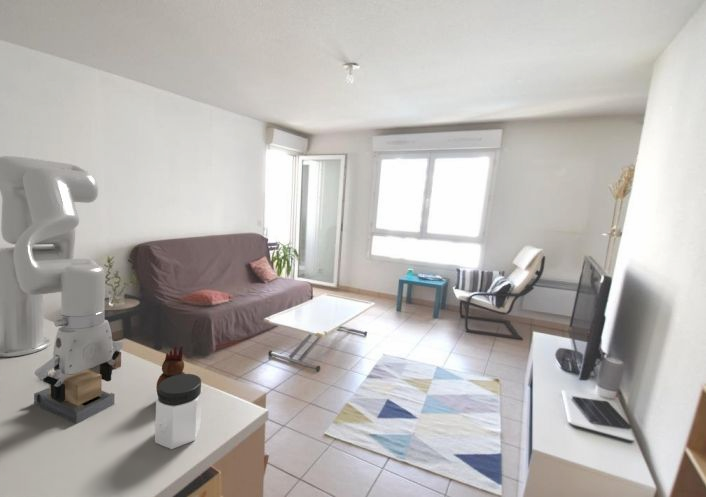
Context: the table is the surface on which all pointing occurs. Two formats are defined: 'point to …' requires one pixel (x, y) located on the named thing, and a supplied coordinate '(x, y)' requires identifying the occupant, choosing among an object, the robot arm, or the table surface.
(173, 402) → the jar
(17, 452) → the table surface
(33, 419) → the table surface
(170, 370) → the wooden figurine
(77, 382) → the cardboard-coloured box
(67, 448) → the table surface
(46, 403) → the grey shallow tray
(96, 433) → the table surface
